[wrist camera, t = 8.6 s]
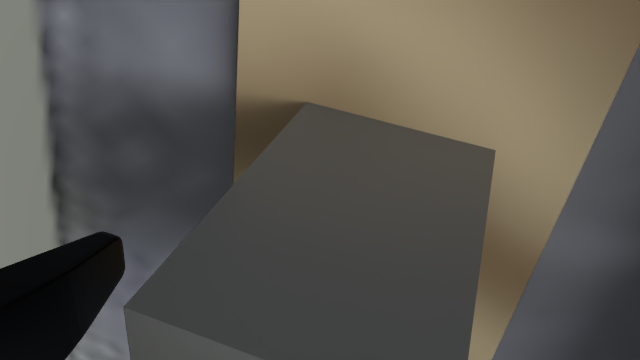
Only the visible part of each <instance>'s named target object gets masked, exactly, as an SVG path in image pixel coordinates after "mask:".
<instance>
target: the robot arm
mask: <svg viewBox="0 0 640 360" xmlns="http://www.w3.org/2000/svg"><path fill="white" fill-rule="evenodd" d="M124 270H125V260H124V252H123V243H122V240H121V238H120V237H118V236H116V235H113V234H110V233H107V232H97V233H95V234H92V235H89V236H87V237H84V238H81V239H79V240H76V241H73V242H71V243H68V244H65V245H63V246H60V247H57V248H55V249H52V250H49V251H46V252H44V253H41V254H38V255H36V256H33V257H30V258H28V259H25V260H23V261H20V262H17V263H15V264H12V265H9V266H6V267H4V268H1V269H0V360H65V359H66V358H67V356H68V355H69V354H70V353H71V351H72V350H73V349H74V348H75V346H76V345H77V344H78V342H79V341H80V340H81V339H82V337H83V336H84V334H85V333H86V331H87V330H88V329H89V327H90V325H91V324H92V322H93V321H94V319H95V318H96V316H97V315H98V313H99V312H100V310H101V309H102V307H103V305H104V304H105V302H106V301H107V299H108V298H109V296H110V295H111V293H112V292H113V290H114V289H115V287H116V286H117V284H118V282H119V281H120V279H121V278H122V276H123V274H124Z"/></svg>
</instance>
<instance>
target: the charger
mask: <svg viewBox="0 0 640 360" xmlns="http://www.w3.org/2000/svg"><path fill="white" fill-rule="evenodd" d="M495 152H496V150H493V149H489V148H485V147H481V146H477V145H474V144H470V143H466V142H462V141H458V140H454V139H450V138H446V137H442V136H439V135H435V134H431V133H427V132H423V131H419V130H415V129H411V128H407V127H403V126H400V125H396V124H392V123H388V122H384V121H380V120H376V119H372V118H368V117H364V116H361V115H357V114H353V113H349V112H345V111H341V110H337V109H333V108H329V107H325V106H322V105H318V104H314V103H310V102H307V103H306V104H305V105H304V106H303V107H302V108H301V110H300V111H299V112H298V113H297V114H296V115H295V116H294V117H293V119H292V120H291V121H290V122H289V123H288V124H287V125H286V126H285V127H284V129H283V130H282V131H281V132H280V133H279V134H278V135H277V136H276V138H275V139H274V140H273V141H272V142H271V143H270V144H269V145H268V146H267V148H266V149H265V150H264V151H263V152H262V153H261V154H260V155H259V157H258V158H257V159H256V160H255V161H254V162H253V163H252V164H251V165H250V167H249V168H248V169H247V170H246V171H245V172H244V173H243V174H242V175H241V177H240V178H239V179H238V180H237V181H236V182H235V183H234V184H233V186H232V187H231V188H230V189H229V190H228V191H227V192H226V193H225V194H224V196H223V197H222V198H221V199H220V200H219V201H218V202H217V203H216V205H215V206H214V207H213V208H212V209H211V210H210V211H209V212H208V213H207V215H206V216H205V217H204V218H203V219H202V220H201V221H200V222H199V223H198V225H197V226H196V227H195V228H194V229H193V230H192V231H191V232H190V234H189V235H188V236H187V237H186V238H185V239H184V240H183V241H182V242H181V244H180V245H179V246H178V247H177V248H176V249H175V250H174V251H173V253H172V254H171V255H170V256H169V257H168V258H167V259H166V260H165V261H164V263H163V264H162V265H161V266H160V267H159V268H158V269H157V270H156V271H155V273H154V274H153V275H152V276H151V277H150V278H149V279H148V280H147V282H146V283H145V284H144V285H143V286H142V287H141V288H140V289H139V290H138V292H137V293H136V294H135V295H134V296H133V297H132V298H131V299H130V301H129V302H128V303H127V304H126V305H125V306H124V307H123V308H124V315H125V322H126V330H127V337H128V345H129V352H130V359H131V360H468V356H469V349H470V341H471V333H472V326H473V318H474V311H475V303H476V296H477V288H478V281H479V273H480V266H481V258H482V250H483V243H484V235H485V228H486V220H487V213H488V205H489V198H490V190H491V183H492V175H493V167H494V160H495Z"/></svg>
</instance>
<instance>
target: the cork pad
mask: <svg viewBox="0 0 640 360" xmlns="http://www.w3.org/2000/svg"><path fill="white" fill-rule="evenodd" d="M639 45H640V0H239V30H238V60H237V91H236V121H235V151H234V182H233V184H234V183H235V182H236V181H237V180H238V179H239V178H240V177H241V175H242V174H243V173H244V172H245V171H246V170H247V169H248V168H249V167H250V165H251V164H252V163H253V162H254V161H255V160H256V159H257V158H258V157H259V155H260V154H261V153H262V152H263V151H264V150H265V149H266V148H267V146H268V145H269V144H270V143H271V142H272V141H273V140H274V139H275V138H276V136H277V135H278V134H279V133H280V132H281V131H282V130H283V129H284V127H285V126H286V125H287V124H288V123H289V122H290V121H291V120H292V119H293V117H294V116H295V115H296V114H297V113H298V112H299V111H300V110H301V108H302V107H303V106H304V105H305V104H306V103H307V102H310V103H314V104H318V105H322V106H325V107H329V108H333V109H337V110H341V111H345V112H349V113H353V114H357V115H361V116H364V117H368V118H372V119H376V120H380V121H384V122H388V123H392V124H396V125H400V126H403V127H407V128H411V129H415V130H419V131H423V132H427V133H431V134H435V135H439V136H442V137H446V138H450V139H454V140H458V141H462V142H466V143H470V144H474V145H477V146H481V147H485V148H489V149H493V150H496V152H495V160H494V167H493V175H492V183H491V190H490V198H489V205H488V213H487V220H486V228H485V235H484V243H483V250H482V258H481V266H480V273H479V281H478V288H477V296H476V303H475V311H474V318H473V326H472V333H471V341H470V349H469V356H468V360H492V358H493V356H494V354H495V352H496V349H497V347H498V345H499V343H500V341H501V339H502V337H503V335H504V332H505V330H506V328H507V326H508V324H509V322H510V320H511V318H512V315H513V313H514V311H515V309H516V307H517V305H518V303H519V300H520V298H521V296H522V294H523V292H524V290H525V288H526V286H527V283H528V281H529V279H530V277H531V275H532V273H533V271H534V269H535V266H536V264H537V262H538V260H539V258H540V256H541V254H542V251H543V249H544V247H545V245H546V243H547V241H548V239H549V237H550V234H551V232H552V230H553V228H554V226H555V224H556V222H557V219H558V217H559V215H560V213H561V211H562V209H563V207H564V205H565V202H566V200H567V198H568V196H569V194H570V192H571V190H572V188H573V185H574V183H575V181H576V179H577V177H578V175H579V173H580V170H581V168H582V166H583V164H584V162H585V160H586V158H587V156H588V153H589V151H590V149H591V147H592V145H593V143H594V141H595V138H596V136H597V134H598V132H599V130H600V128H601V126H602V124H603V121H604V119H605V117H606V115H607V113H608V111H609V109H610V107H611V104H612V102H613V100H614V98H615V96H616V94H617V92H618V89H619V87H620V85H621V83H622V81H623V79H624V77H625V75H626V72H627V70H628V68H629V66H630V64H631V62H632V60H633V57H634V55H635V53H636V51H637V49H638V47H639Z"/></svg>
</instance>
